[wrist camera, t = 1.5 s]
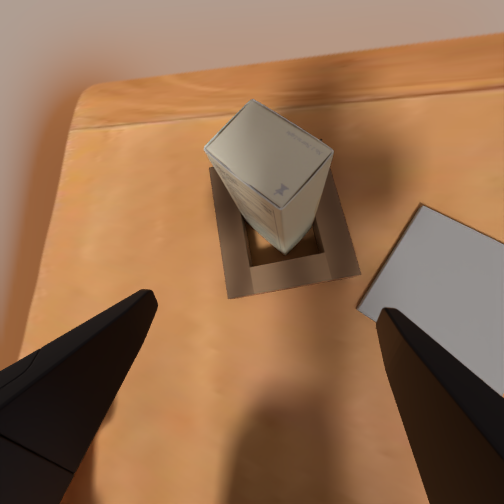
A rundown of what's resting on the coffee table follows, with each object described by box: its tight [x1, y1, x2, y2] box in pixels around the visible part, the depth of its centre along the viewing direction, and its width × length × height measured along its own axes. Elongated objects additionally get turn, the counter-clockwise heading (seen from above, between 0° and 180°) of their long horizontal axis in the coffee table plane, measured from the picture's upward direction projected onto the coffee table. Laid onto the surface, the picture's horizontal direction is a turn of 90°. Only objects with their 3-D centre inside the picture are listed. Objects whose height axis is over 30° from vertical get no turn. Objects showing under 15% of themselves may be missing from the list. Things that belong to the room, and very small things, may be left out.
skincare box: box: [204, 99, 334, 255], centre depth 17 cm, size 6×4×12 cm
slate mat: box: [356, 206, 504, 396], centre depth 19 cm, size 12×12×1 cm
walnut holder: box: [209, 139, 361, 299], centre depth 22 cm, size 12×14×2 cm
